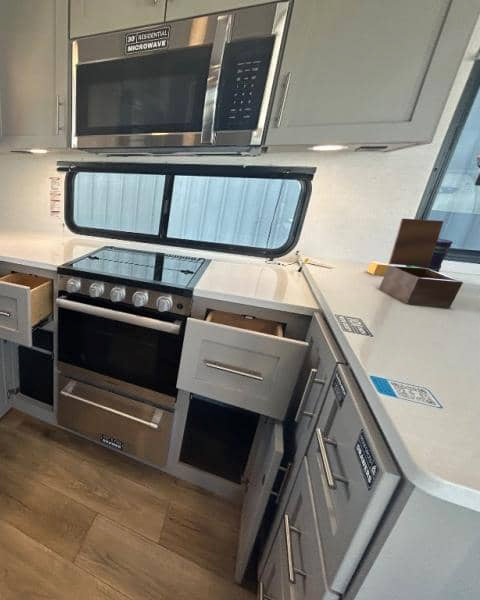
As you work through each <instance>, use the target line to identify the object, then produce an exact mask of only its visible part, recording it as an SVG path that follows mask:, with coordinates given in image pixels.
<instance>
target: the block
mask: <svg viewBox="0 0 480 600" xmlns="http://www.w3.org/2000/svg"><path fill="white" fill-rule="evenodd" d="M389 265H390V264H389V263H386V262H381V261H370V263H369V265H368V268H367V273H369V274H371V275H373V276H382V277H384V275H385V273H386V271H387V268H388V266H389Z"/></svg>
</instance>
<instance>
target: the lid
mask: <svg viewBox="0 0 480 600" xmlns="http://www.w3.org/2000/svg"><path fill="white" fill-rule="evenodd" d="M443 224H444V220H435V219H419V218H418V219H417V218H401V219H400V223H399V227H398V229H397V234H396V237H395V241H394V243H393V248H392V250H391V254H390V258H389V261H388V265H395V266H406V265H408V266H420V267H429V266H430V262H431V259H432V256H433V253H434V250H435V247H436V243H437V240H438V238H439V237H440V234H441V231H442V228H443Z"/></svg>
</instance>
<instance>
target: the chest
mask: <svg viewBox="0 0 480 600" xmlns="http://www.w3.org/2000/svg"><path fill="white" fill-rule="evenodd" d="M388 265H389V266H388V268H387V271H386V273H385V275H384V276H383V277H382V280H381V283H380V285H379V288H378V289H379V290H381V291H383V292H384V293H386V294H388V295H389V296H392V297H393V298H395V299H397V300H398V301H400V302H402V303H404V304H405V305H411V306H412V305H413V306H421V307H431V308H441V309H451V306H452V305H453V303H454V301H455V298H456V297H457V295H458V292H459V291H460V289H461V287H462V285H463V283H464V281H462V280H459V279H456V278H454V277H451V276H449V275H446V274H443V273H441V272H439V273H438V272H436V271H433V270H431V269H428V268H418V267H406V265H395V264H388Z"/></svg>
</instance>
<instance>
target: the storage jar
mask: <svg viewBox="0 0 480 600" xmlns="http://www.w3.org/2000/svg"><path fill="white" fill-rule="evenodd" d="M453 242H454V241H452V240H451V239H450V240H449V239H445V238H439V237H438V240H437V243H436V247H435V250H434V253H433V256H432V259H431V262H430V266H429V267H420V266H408V265H405V266H406V267H418V268H428V269H431V270H433V271H436V272H438V273H440V271H441V268H442V263H443V261H444V259H445V257H446V256H447V255H448V254H449V252H450V249H451V247H452V245H453Z"/></svg>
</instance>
